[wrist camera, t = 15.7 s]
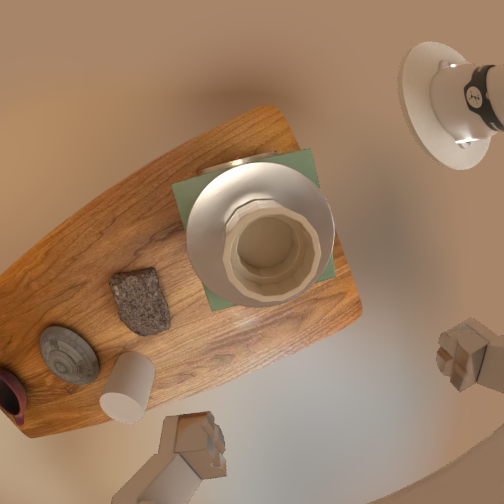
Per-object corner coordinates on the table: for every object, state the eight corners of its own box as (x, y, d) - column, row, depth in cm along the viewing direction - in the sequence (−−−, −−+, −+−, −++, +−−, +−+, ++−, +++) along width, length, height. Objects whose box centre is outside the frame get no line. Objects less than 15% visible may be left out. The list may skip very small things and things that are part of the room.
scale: (269, 151, 43) (316, 137, 21) (288, 229, 47) (344, 285, 25) (193, 171, 43) (163, 176, 21) (216, 248, 47) (211, 322, 25)
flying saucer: (39, 313, 47) (26, 326, 41) (101, 335, 49) (91, 351, 44) (46, 367, 50) (36, 381, 45) (102, 388, 53) (95, 404, 48)
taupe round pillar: (112, 370, 52) (95, 409, 40) (124, 344, 50) (106, 385, 39) (146, 388, 54) (135, 429, 42) (161, 364, 52) (150, 407, 41)
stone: (112, 272, 46) (104, 280, 42) (159, 264, 47) (154, 272, 43) (130, 331, 49) (125, 341, 46) (175, 326, 50) (172, 337, 46)
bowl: (-8, 368, 50) (-21, 385, 42) (8, 356, 49) (-7, 374, 41) (29, 410, 54) (18, 428, 47) (49, 403, 54) (38, 422, 46)
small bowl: (293, 189, 22) (309, 195, 18) (309, 266, 24) (327, 287, 20) (213, 210, 22) (210, 221, 18) (235, 286, 24) (238, 313, 20)
